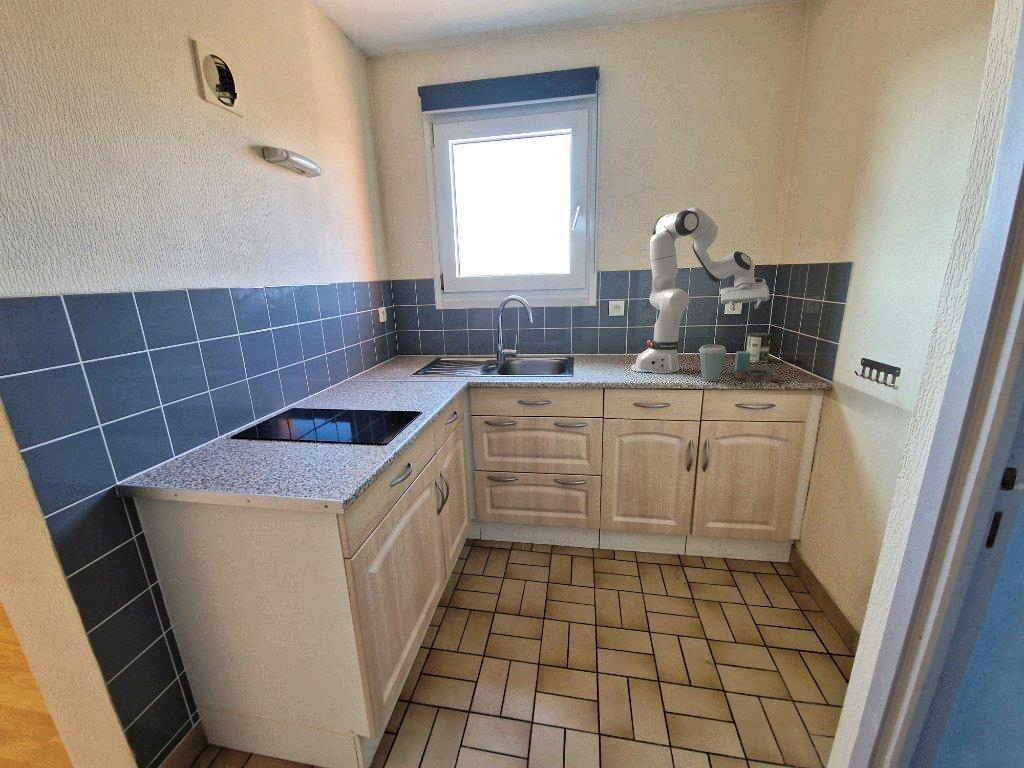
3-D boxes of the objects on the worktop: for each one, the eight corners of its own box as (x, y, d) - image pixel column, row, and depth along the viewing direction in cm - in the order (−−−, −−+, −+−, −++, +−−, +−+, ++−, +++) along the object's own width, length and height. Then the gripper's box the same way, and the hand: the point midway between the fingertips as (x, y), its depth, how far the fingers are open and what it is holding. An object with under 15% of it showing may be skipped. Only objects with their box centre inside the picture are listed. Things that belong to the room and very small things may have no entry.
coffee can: (765, 359, 213) (769, 332, 210) (769, 363, 204) (773, 335, 200) (743, 358, 217) (746, 331, 213) (746, 362, 208) (749, 334, 204)
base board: (738, 381, 175) (738, 374, 174) (732, 373, 187) (732, 367, 186) (786, 383, 169) (787, 376, 169) (777, 375, 181) (778, 369, 181)
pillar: (736, 372, 189) (738, 353, 187) (734, 369, 194) (736, 351, 191) (748, 372, 188) (750, 353, 185) (745, 370, 192) (748, 351, 190)
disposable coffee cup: (722, 384, 171) (726, 349, 167) (694, 381, 176) (698, 347, 172) (723, 378, 180) (727, 344, 176) (697, 376, 185) (700, 343, 181)
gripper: (720, 283, 201) (720, 306, 195) (769, 278, 191) (770, 302, 186) (720, 291, 206) (720, 314, 200) (767, 287, 196) (769, 311, 191)
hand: (744, 308), depth 193 cm, fingers open, 8 cm apart
